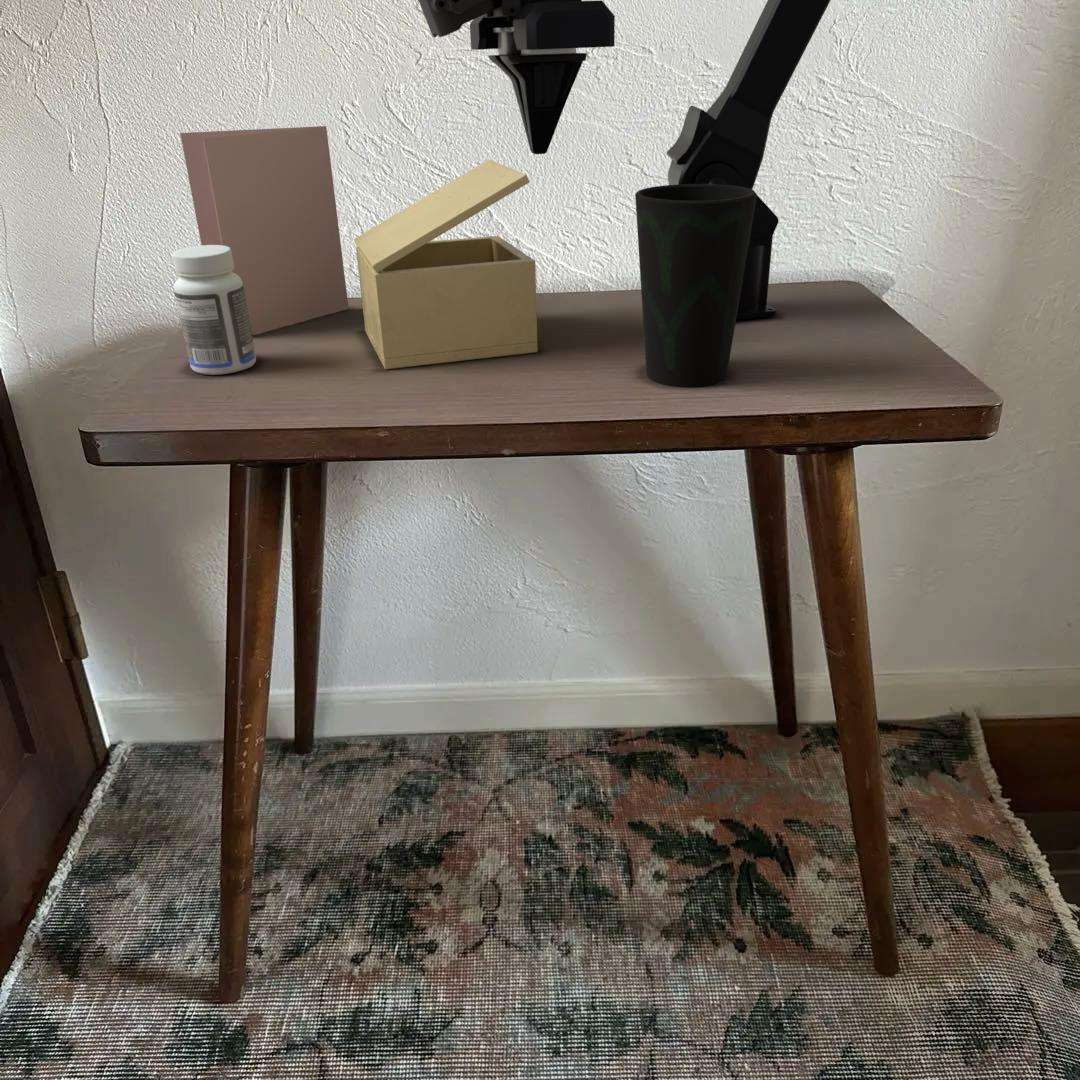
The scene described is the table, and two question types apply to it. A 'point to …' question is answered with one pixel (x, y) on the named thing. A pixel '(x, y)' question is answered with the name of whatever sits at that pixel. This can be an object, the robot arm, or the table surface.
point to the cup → (691, 277)
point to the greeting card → (271, 218)
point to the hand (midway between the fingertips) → (538, 153)
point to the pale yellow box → (451, 303)
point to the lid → (438, 213)
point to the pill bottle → (213, 310)
